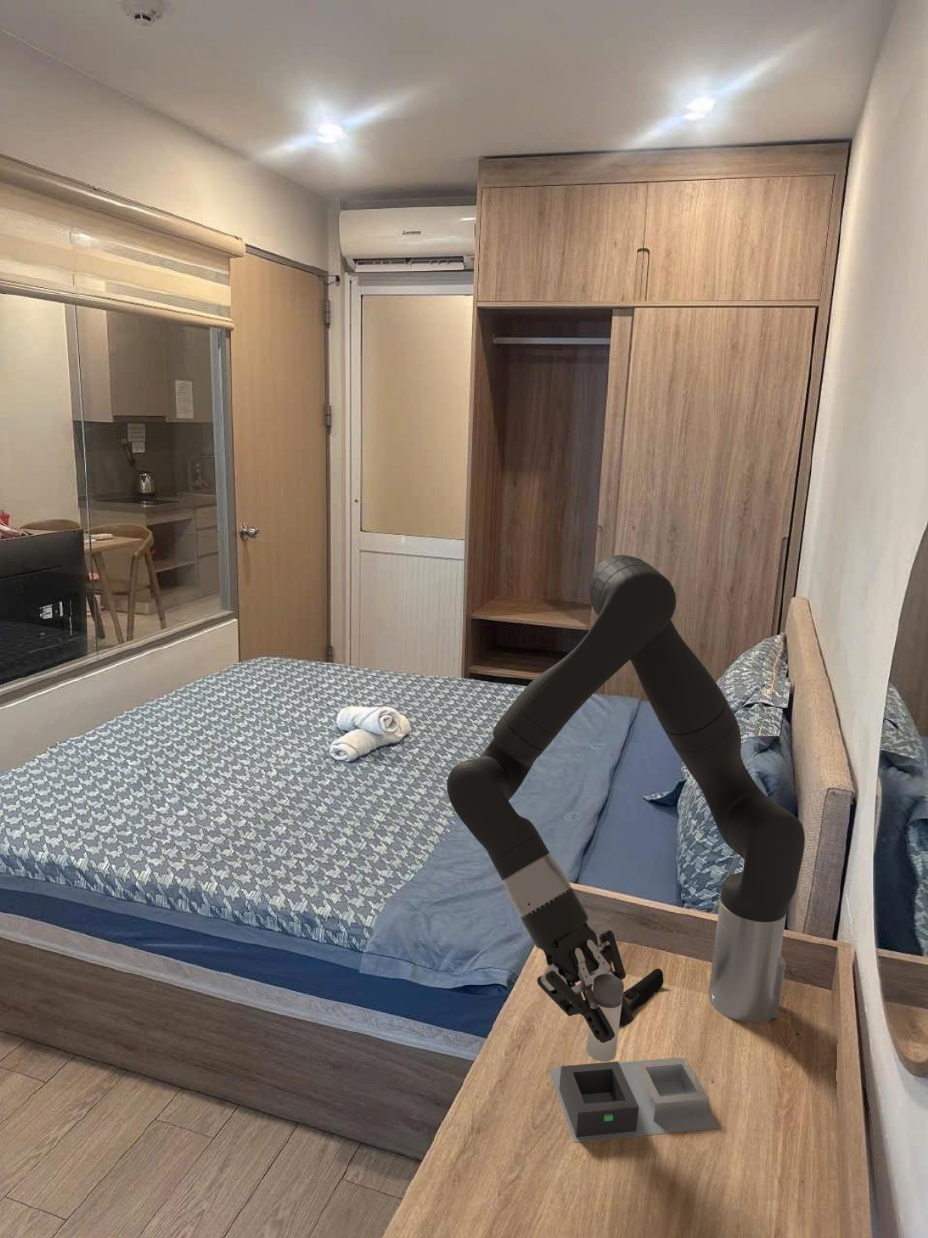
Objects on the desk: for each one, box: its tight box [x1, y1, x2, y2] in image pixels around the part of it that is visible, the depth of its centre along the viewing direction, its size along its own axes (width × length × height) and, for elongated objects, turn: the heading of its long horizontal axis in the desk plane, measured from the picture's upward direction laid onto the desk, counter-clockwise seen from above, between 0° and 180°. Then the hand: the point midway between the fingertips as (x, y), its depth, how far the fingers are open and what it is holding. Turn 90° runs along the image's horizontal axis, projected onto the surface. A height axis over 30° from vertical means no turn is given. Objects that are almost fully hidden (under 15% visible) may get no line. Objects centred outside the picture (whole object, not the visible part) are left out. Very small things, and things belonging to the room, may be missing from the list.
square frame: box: [634, 1057, 710, 1121], centre depth 110 cm, size 7×7×2 cm
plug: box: [585, 974, 625, 1063], centre depth 105 cm, size 4×4×10 cm
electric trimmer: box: [619, 968, 664, 1028], centre depth 129 cm, size 4×16×3 cm, turn 137°
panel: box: [548, 1056, 720, 1144], centre depth 110 cm, size 18×12×1 cm, turn 99°
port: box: [559, 1060, 639, 1137], centre depth 107 cm, size 8×8×4 cm
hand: (617, 1031), depth 104 cm, fingers closed on plug, 3 cm apart
